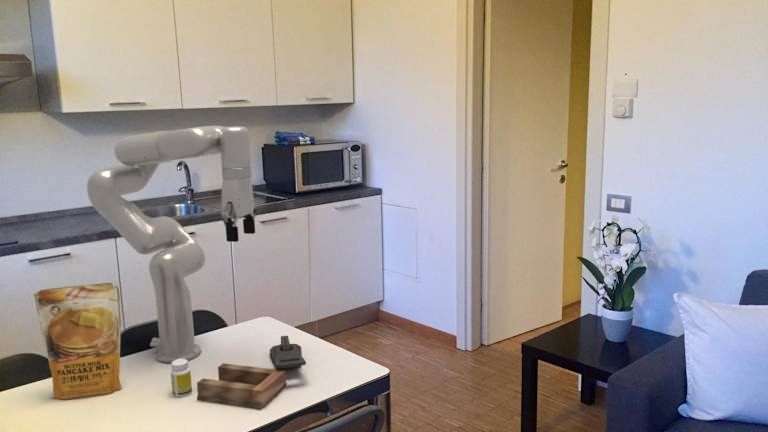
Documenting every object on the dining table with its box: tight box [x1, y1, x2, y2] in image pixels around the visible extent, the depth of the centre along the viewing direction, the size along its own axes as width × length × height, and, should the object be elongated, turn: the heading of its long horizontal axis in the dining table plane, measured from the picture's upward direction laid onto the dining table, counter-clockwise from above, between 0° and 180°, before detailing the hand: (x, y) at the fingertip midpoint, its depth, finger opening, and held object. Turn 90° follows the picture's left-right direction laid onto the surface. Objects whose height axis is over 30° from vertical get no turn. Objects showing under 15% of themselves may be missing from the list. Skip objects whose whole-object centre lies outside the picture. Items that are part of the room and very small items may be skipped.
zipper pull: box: [269, 335, 307, 373], centre depth 178 cm, size 9×7×25 cm
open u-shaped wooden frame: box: [196, 362, 288, 411], centre depth 164 cm, size 18×13×4 cm
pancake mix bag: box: [33, 282, 123, 401], centre depth 165 cm, size 7×19×28 cm, turn 105°
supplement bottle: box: [170, 359, 193, 398], centre depth 165 cm, size 5×5×8 cm
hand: (241, 237), depth 175 cm, fingers open, 9 cm apart
